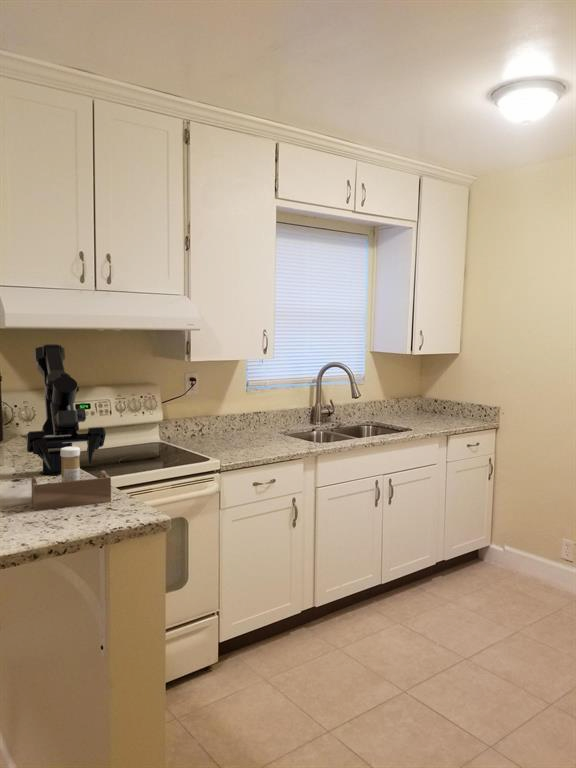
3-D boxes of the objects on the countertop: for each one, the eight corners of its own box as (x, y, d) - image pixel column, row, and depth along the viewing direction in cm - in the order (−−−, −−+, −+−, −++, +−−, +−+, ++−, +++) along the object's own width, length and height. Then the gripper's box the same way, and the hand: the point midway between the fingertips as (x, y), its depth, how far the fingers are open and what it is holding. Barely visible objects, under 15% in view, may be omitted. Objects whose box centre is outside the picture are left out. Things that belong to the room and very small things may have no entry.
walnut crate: (31, 501, 148) (31, 477, 147) (104, 493, 156) (104, 470, 155) (34, 510, 141) (34, 485, 140) (111, 501, 149) (110, 477, 148)
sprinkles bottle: (64, 498, 151) (63, 446, 150) (82, 498, 151) (81, 445, 150) (59, 503, 146) (58, 449, 145) (78, 503, 147) (77, 449, 146)
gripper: (26, 399, 147) (31, 451, 139) (103, 396, 156) (112, 445, 147) (24, 426, 155) (29, 477, 146) (98, 422, 164) (107, 469, 155)
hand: (70, 466), depth 148 cm, fingers open, 9 cm apart
